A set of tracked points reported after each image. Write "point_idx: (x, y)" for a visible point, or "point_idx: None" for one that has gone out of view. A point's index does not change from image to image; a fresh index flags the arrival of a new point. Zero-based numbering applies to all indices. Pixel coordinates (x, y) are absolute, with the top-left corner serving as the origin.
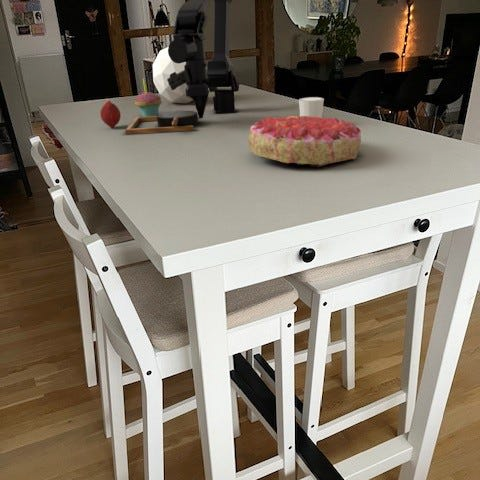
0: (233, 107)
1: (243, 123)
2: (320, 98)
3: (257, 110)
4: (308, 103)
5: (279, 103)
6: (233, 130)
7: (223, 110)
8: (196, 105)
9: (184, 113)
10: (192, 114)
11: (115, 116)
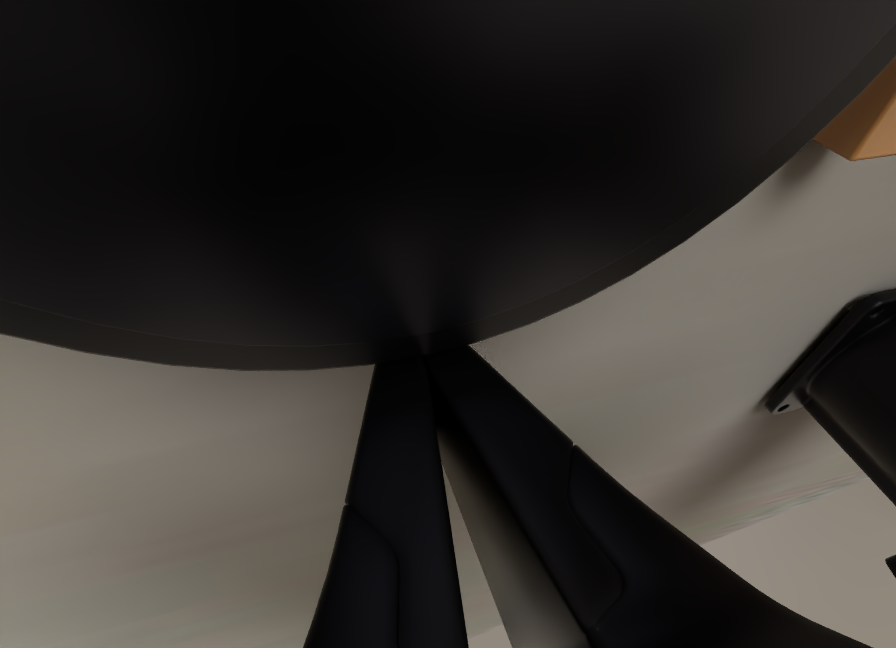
0: (820, 417)
1: (332, 536)
2: None
3: (723, 470)
4: None
5: (805, 484)
6: (4, 583)
7: (838, 360)
8: (335, 560)
9: (408, 61)
10: (198, 333)
11: None
